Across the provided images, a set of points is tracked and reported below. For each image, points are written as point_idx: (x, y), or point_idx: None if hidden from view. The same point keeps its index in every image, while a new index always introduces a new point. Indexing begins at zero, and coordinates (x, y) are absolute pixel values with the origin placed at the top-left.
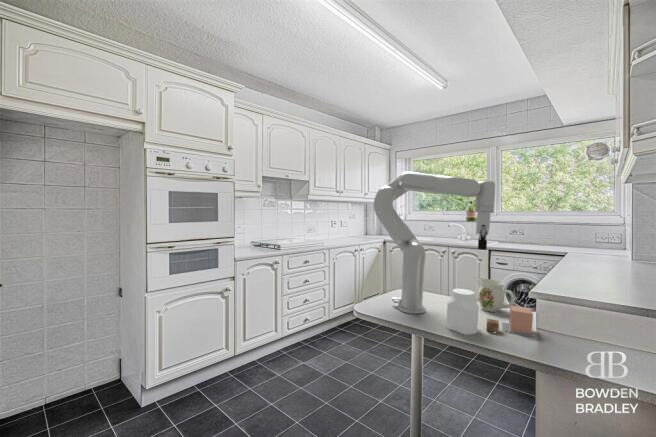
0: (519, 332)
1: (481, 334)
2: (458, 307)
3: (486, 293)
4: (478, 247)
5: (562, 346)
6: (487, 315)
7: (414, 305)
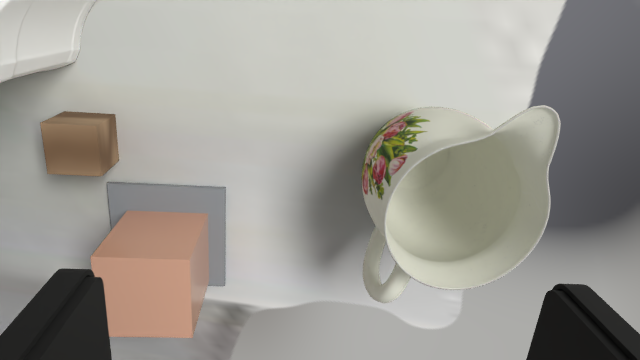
0: None
1: (9, 85)
2: None
3: (380, 161)
4: (48, 287)
5: None
6: (311, 134)
7: None
